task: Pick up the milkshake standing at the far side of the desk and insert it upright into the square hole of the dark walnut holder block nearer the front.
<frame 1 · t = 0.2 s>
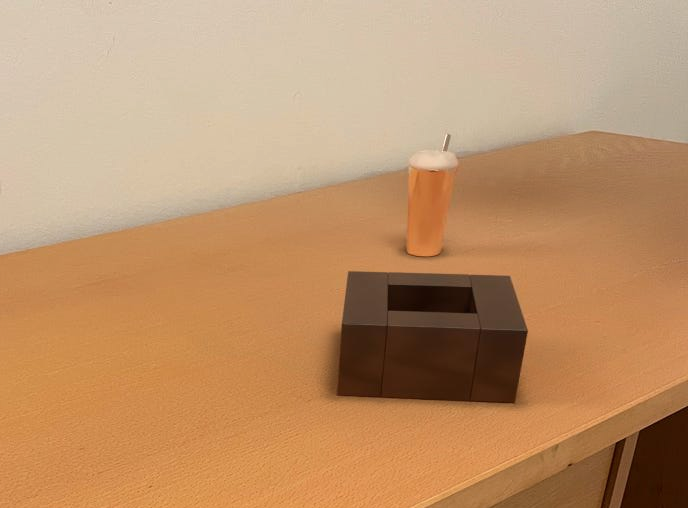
milkshake: (424, 253, 96), on the table
holder: (422, 366, 71), on the table
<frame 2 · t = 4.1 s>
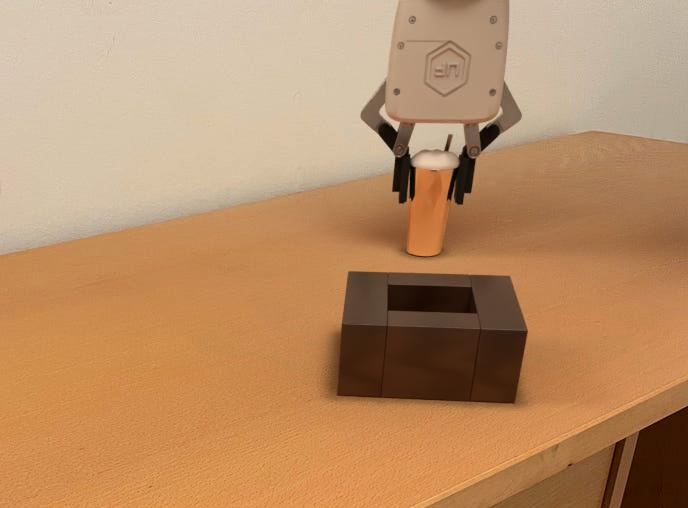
hand: (430, 198, 93), 5 cm above the table, tool pointing down, fingers closed on milkshake, 4 cm apart
milkshake: (424, 253, 96), on the table, touching gripper
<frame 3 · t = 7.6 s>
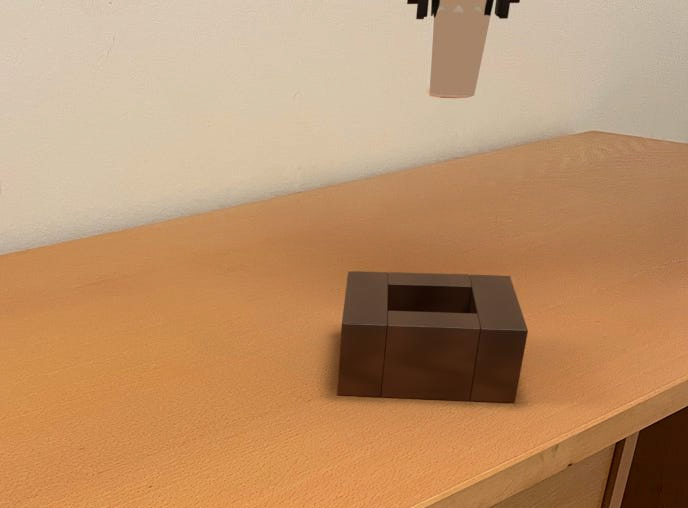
hand: (461, 13, 66), 21 cm above the table, tool pointing down, fingers closed on milkshake, 4 cm apart
milkshake: (452, 97, 69), point 16 cm above the table, touching gripper
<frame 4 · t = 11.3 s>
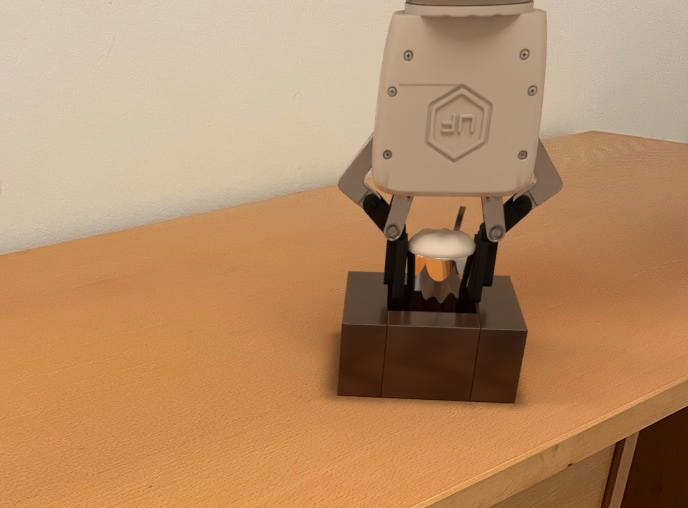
hand: (435, 293, 68), 5 cm above the table, tool pointing down, fingers closed on milkshake, 4 cm apart
milkshake: (428, 362, 71), on the table, touching gripper
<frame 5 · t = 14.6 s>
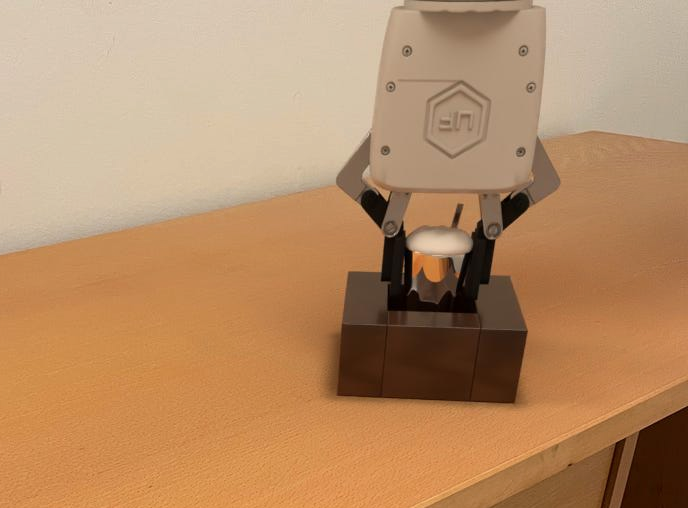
hand: (432, 290, 68), 6 cm above the table, tool pointing down, fingers closed on milkshake, 4 cm apart
milkshake: (424, 360, 71), point 1 cm above the table, touching gripper
when the fingers open (6 cm above the table, at t = 17.8 s): milkshake drops 2 cm, on the table.
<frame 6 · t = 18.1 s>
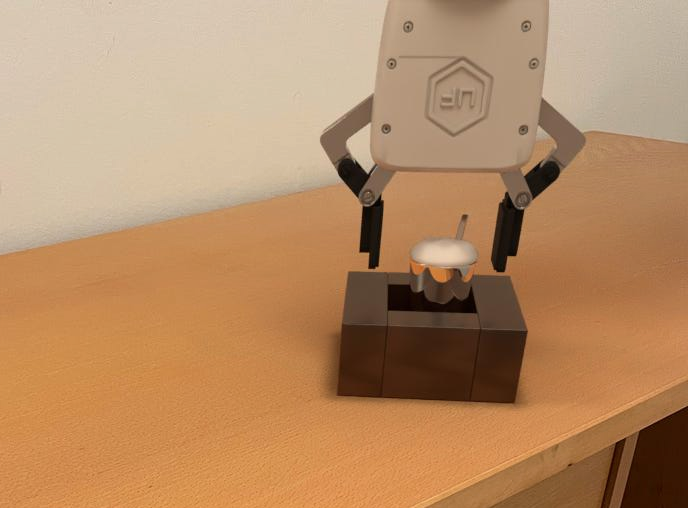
hand: (435, 263, 67), 7 cm above the table, tool pointing down, fingers open, 7 cm apart
milkshake: (431, 369, 71), on the table
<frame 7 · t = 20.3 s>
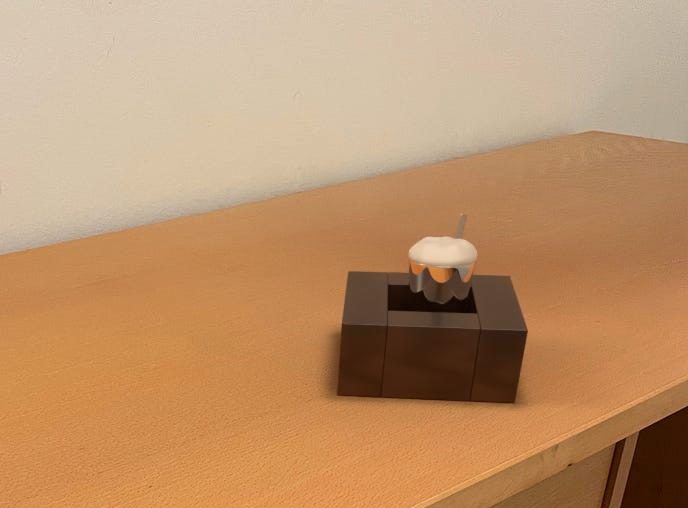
nothing on the table moved.
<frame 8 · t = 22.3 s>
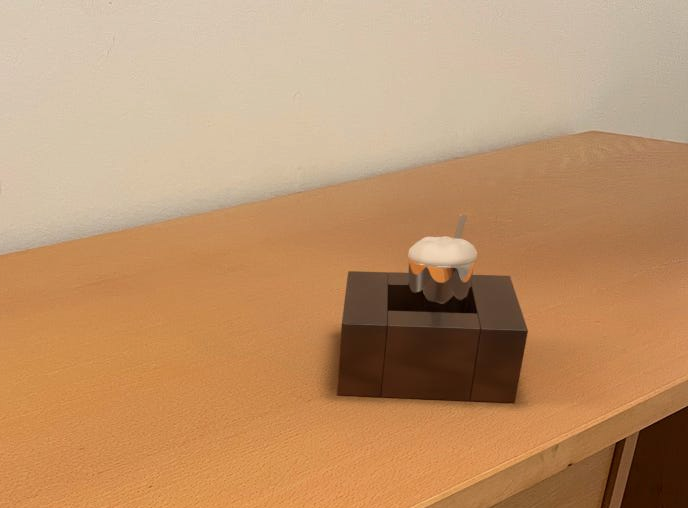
nothing on the table moved.
at the end: milkshake 0.6 cm off-centre in the holder, point 0.0 cm above the holder's base; milkshake tilted 0°; the gripper is holding nothing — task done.
